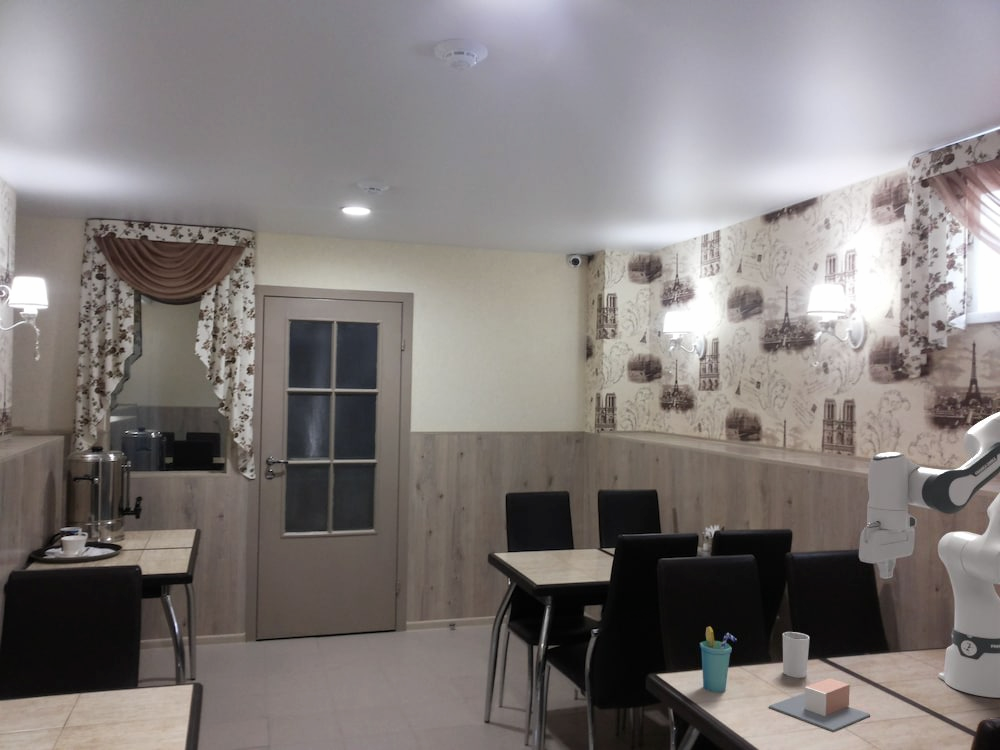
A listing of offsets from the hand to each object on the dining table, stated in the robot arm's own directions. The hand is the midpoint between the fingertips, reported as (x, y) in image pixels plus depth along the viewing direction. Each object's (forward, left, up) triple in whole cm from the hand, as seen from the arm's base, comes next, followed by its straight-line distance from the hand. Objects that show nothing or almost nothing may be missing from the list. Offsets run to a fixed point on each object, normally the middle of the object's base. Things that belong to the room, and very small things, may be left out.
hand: (886, 577), depth 196 cm
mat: (+18, -6, -30) cm, 36 cm away
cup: (+27, -28, -30) cm, 49 cm away
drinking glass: (-1, -24, -30) cm, 39 cm away
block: (+9, -6, -27) cm, 29 cm away
